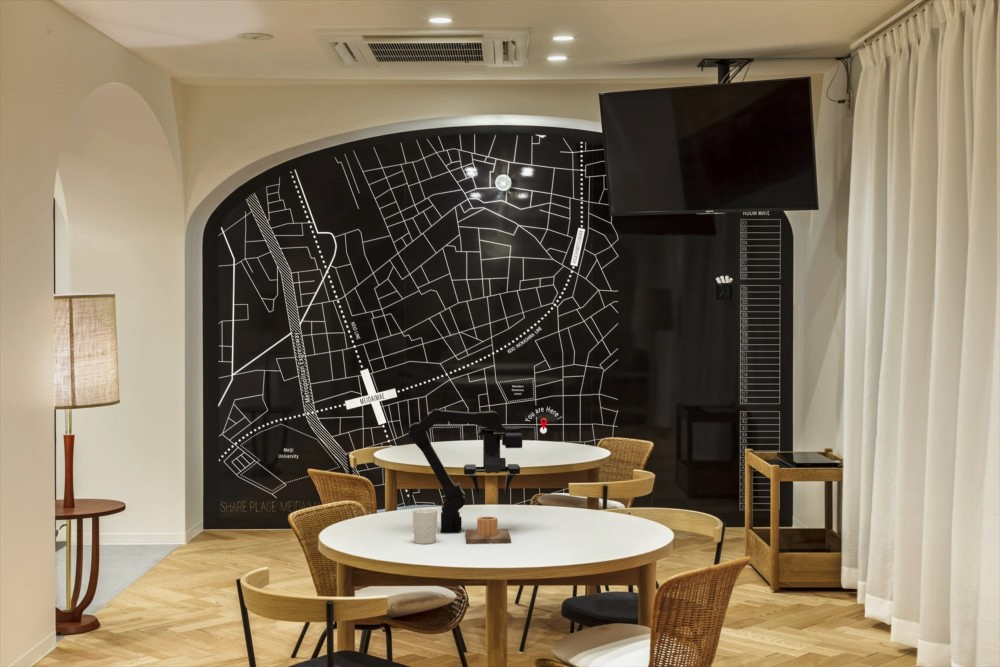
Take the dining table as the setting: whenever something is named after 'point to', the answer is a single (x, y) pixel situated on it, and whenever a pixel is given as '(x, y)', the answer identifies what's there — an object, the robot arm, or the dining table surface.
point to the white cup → (425, 525)
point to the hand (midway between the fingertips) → (491, 495)
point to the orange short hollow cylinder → (487, 526)
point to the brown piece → (487, 537)
